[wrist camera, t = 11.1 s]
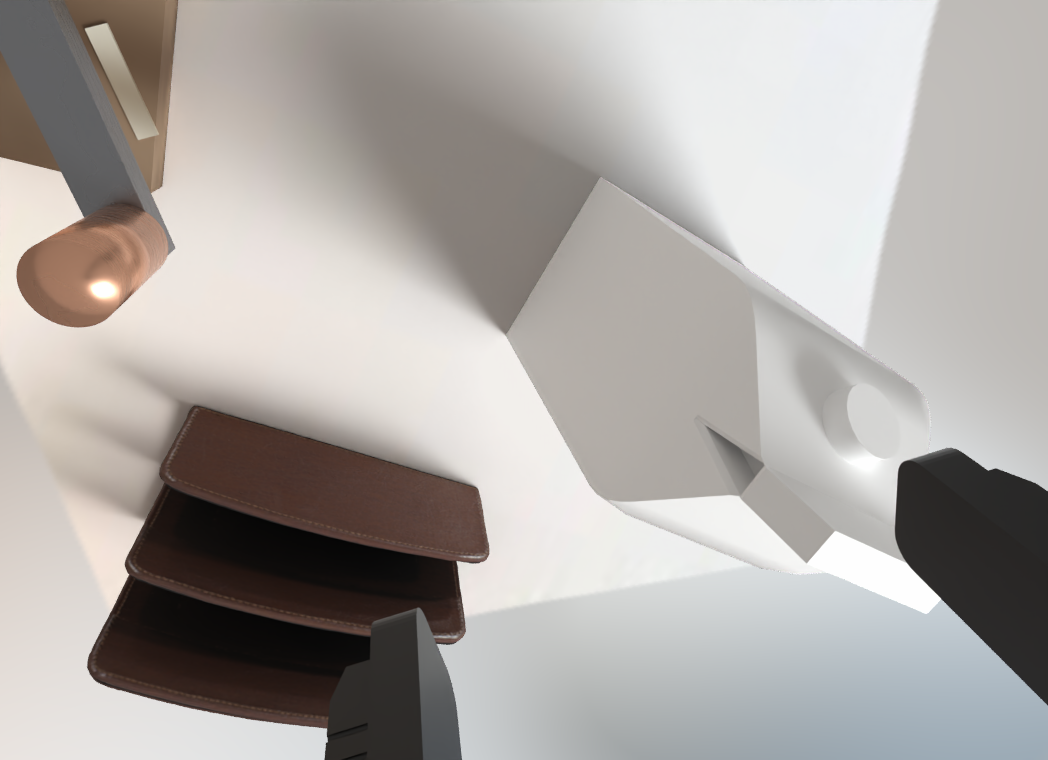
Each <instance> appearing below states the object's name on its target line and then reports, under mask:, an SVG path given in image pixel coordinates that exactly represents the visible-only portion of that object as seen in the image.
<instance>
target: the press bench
mask: <svg viewBox="0 0 1048 760" xmlns="http://www.w3.org/2000/svg"><path fill="white" fill-rule="evenodd" d="M64 1H65V3H66V5H67V7H68V10H69V12H70V14H71V16H72V19H73V21H74V23H75V25H76V27H77V30H78V32H79V34H80V36H81V39H82V41H83V43H84V45H85V47H86V50H87V52H88V54H89V56H90V59H91V61H92V63H93V65H94V68H95V70H96V72H97V74H98V76H99V79H100V81H101V83H102V85H103V88H104V90H105V92H106V94H107V97H108V99H109V101H110V103H111V105H112V108H113V110H114V112H115V114H116V117H117V119H118V121H119V123H120V126H121V128H122V130H123V132H124V134H125V137H126V139H127V141H128V143H129V146H130V148H131V150H132V152H133V155H134V157H135V159H136V161H137V163H138V166H139V168H140V170H141V172H142V175H143V177H144V179H145V181H146V184H147V186H148V188H149V190H150V192H151V193H152V192H154V191H155V190H157V189H159V188H160V187H162V183H163V171H164V159H165V147H166V136H167V124H168V112H169V100H170V89H171V77H172V65H173V53H174V42H175V30H176V18H177V6H178V0H64ZM0 157H3V158H7V159H11V160H15V161H19V162H23V163H27V164H31V165H36V166H40V167H44V168H48V169H52V170H56V171H60V172H61V170H60V168H59V166H58V164H57V162H56V160H55V158H54V156H53V154H52V152H51V150H50V149H49V147H48V145H47V143H46V141H45V139H44V137H43V135H42V133H41V131H40V129H39V127H38V125H37V123H36V121H35V119H34V117H33V115H32V113H31V111H30V109H29V107H28V105H27V103H26V101H25V99H24V97H23V95H22V93H21V91H20V89H19V87H18V85H17V83H16V81H15V79H14V77H13V75H12V73H11V71H10V69H9V67H8V65H7V63H6V61H5V59H4V57H3V55H2V53H1V51H0Z"/></svg>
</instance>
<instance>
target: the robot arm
mask: <svg viewBox="0 0 1048 760" xmlns="http://www.w3.org/2000/svg"><path fill="white" fill-rule="evenodd" d="M895 538H896V542H897V545H898V548H899V550H900V552H901V554H902V556H903V558H904V560H905V561H906V563H907V564H908V565H909V567H910V568H911V569H912V570H913V571H914V572H915V573H916V574H917V575H918V576H919V577H920V578H921V579H922V580H923V581H924V582H925V583H926V584H927V585H928V586H929V587H930V588H931V589H932V590H933V591H934V592H935V593H936V594H937V595H938V596H939V597H940V598H941V599H942V600H943V601H944V602H945V603H946V604H947V605H948V606H949V607H950V608H951V609H952V610H953V611H954V612H955V613H956V614H957V615H958V616H959V617H960V618H961V619H962V620H963V621H964V622H965V623H966V624H967V625H968V626H969V627H970V628H971V629H972V630H973V631H974V632H975V633H976V634H977V635H978V636H979V637H980V638H981V639H982V640H983V641H984V642H985V643H986V644H987V645H988V646H989V647H990V648H991V649H992V650H993V651H994V652H995V653H996V654H997V655H998V656H999V657H1000V658H1001V659H1002V660H1003V661H1004V662H1005V663H1006V664H1007V665H1008V666H1009V667H1010V668H1011V669H1012V670H1013V671H1014V672H1015V673H1016V674H1017V675H1018V676H1019V677H1020V678H1021V679H1022V680H1023V681H1024V682H1025V683H1026V684H1027V685H1028V686H1029V687H1030V688H1031V689H1032V690H1033V691H1034V692H1035V693H1036V694H1037V695H1038V696H1039V697H1040V698H1041V699H1042V700H1043V701H1044V702H1045V703H1046V704H1047V705H1048V491H1046V490H1045V489H1043V488H1042V487H1040V486H1039V485H1037V484H1036V483H1033V482H1031V481H1028V480H1025V479H1022V478H1020V477H1017V476H1015V475H1012V474H1009V473H1007V472H1004V471H1001V470H999V469H993V470H989V471H988V470H986V469H985V468H984V467H982V466H981V465H979V464H978V463H976V462H975V461H973V460H972V459H971V458H969V457H968V456H966V455H965V454H964V453H962V452H960V451H959V450H956V449H953V448H946V449H942V450H939V451H936V452H933V453H929V454H926V455H923V456H919V457H916V458H913V459H910V460H906V461H904V462H902V463H901V465H900V466H899V469H898V479H897V497H896V515H895ZM327 737H328V742H327V743H326V751H325V760H462V756H461V747H460V737H459V727H458V717H457V709H456V702H455V697H454V692H453V688H452V683H451V680H450V676H449V674H448V670H447V668H446V665H445V663H444V661H443V658H442V656H441V654H440V651H439V649H438V647H437V644H436V642H435V639H434V637H433V635H432V632H431V630H430V627H429V625H428V623H427V620H426V618H425V616H424V613H423V612H422V610H421V609H420V608H416V609H413V610H409V611H406V612H403V613H399V614H396V615H393V616H390V617H386V618H383V619H380V620H377V621H374V622H373V623H372V626H371V642H370V660H367V661H364V662H360V663H357V664H354V665H351V666H347V667H346V668H345V670H344V672H343V675H342V677H341V679H340V681H339V683H338V685H337V687H336V689H335V691H334V693H333V695H332V698H331V700H330V706H329V717H328V728H327Z"/></svg>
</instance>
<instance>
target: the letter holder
mask: <svg viewBox="0 0 1048 760" xmlns="http://www.w3.org/2000/svg"><path fill="white" fill-rule="evenodd" d="M160 477H161V479H162V480H163V481H164V482H165V483H164V486H163V488H162V490H161V491H160V493H159V495H158V497H157V499H156V501H155V503H154V505H153V507H152V509H151V511H150V513H149V514H148V517H147V519H146V521H145V523H144V525H143V527H142V529H141V531H140V533H139V535H138V537H137V538H136V540H135V542H134V544H133V546H132V548H131V550H130V552H129V554H128V556H127V558H126V561H125V567H126V570H127V572H128V574H129V576H128V578H127V580H126V583H125V585H124V587H123V589H122V591H121V593H120V595H119V597H118V599H117V601H116V603H115V605H114V607H113V609H112V611H111V613H110V615H109V617H108V619H107V621H106V623H105V624H104V626H103V628H102V630H101V632H100V634H99V636H98V638H97V640H96V642H95V644H94V646H93V648H92V651H91V653H90V654H89V657H88V666H87V668H88V670H89V673H90V675H91V676H92V677H93V679H94V680H95V681H96V682H98V683H100V684H102V685H105V686H107V687H110V688H114V689H117V690H122V691H126V692H129V693H133V694H136V695H140V696H143V697H147V698H151V699H155V700H158V701H163V702H166V703H171V704H176V705H179V706H183V707H188V708H192V709H197V710H202V711H208V712H212V713H219V714H224V715H229V716H234V717H240V718H245V719H251V720H259V721H267V722H274V723H282V724H290V725H300V726H309V727H319V728H328V717H329V706H330V700H331V698H332V695H333V693H334V691H335V689H336V687H337V685H338V683H339V681H340V679H341V677H342V675H343V672H344V670H345V668H346V667H347V666H351V665H354V664H357V663H360V662H364V661H367V660H370V642H371V626H372V623H373V622H374V621H377V620H380V619H383V618H386V617H390V616H393V615H396V614H399V613H403V612H406V611H409V610H413V609H416V608H420V609H421V610H422V612H423V613H424V616H425V618H426V620H427V623H428V625H429V627H430V630H431V632H432V635H433V637H434V639H435V642H436V644H446V645H450V644H454V643H456V642H457V641H459V640H460V639H461V638H462V637H463V636H464V634H465V632H466V629H465V619H464V612H463V604H462V597H461V592H460V585H459V576H458V567H457V562H456V561H461V562H468V563H480V562H483V561H485V560H486V559H487V557H488V555H489V543H488V540H487V534H486V528H485V523H484V516H483V509H482V504H481V498H480V495H479V491H478V489H477V488H475V487H471V486H467V485H464V484H460V483H459V482H453V481H450V480H447V479H443V478H441V477H437V476H434V475H431V474H427V473H423V472H420V471H417V470H413V469H410V468H407V467H403V466H400V465H396V464H393V463H390V462H386V461H383V460H379V459H376V458H374V457H369V456H366V455H363V454H359V453H356V452H353V451H349V450H346V449H342V448H339V447H335V446H332V445H329V444H326V443H323V442H318V441H315V440H312V439H309V438H304V437H301V436H298V435H294V434H293V433H289V432H284V431H281V430H277V429H275V428H271V427H267V426H264V425H260V424H257V423H253V422H250V421H246V420H243V419H239V418H236V417H232V416H229V415H225V414H222V413H219V412H215V411H212V410H208V409H205V408H201V407H197V406H194V407H192V408H191V410H190V411H189V413H188V416H187V419H186V421H185V422H184V424H183V426H182V428H181V430H180V432H179V433H178V435H177V437H176V439H175V441H174V443H173V445H172V447H171V449H170V450H169V452H168V454H167V456H166V458H165V459H164V461H163V463H162V465H161V467H160Z"/></svg>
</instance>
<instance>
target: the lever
mask: <svg viewBox="0 0 1048 760" xmlns="http://www.w3.org/2000/svg"><path fill="white" fill-rule="evenodd" d="M0 51H1V53H2V55H3V57H4V59H5V61H6V63H7V65H8V67H9V69H10V71H11V73H12V75H13V77H14V79H15V81H16V83H17V85H18V87H19V89H20V91H21V93H22V95H23V97H24V99H25V101H26V103H27V105H28V107H29V109H30V111H31V113H32V115H33V117H34V119H35V121H36V123H37V125H38V127H39V129H40V131H41V133H42V135H43V137H44V139H45V141H46V143H47V145H48V147H49V149H50V150H51V152H52V154H53V156H54V158H55V160H56V162H57V164H58V166H59V168H60V170H61V172H62V174H63V176H64V178H65V180H66V182H67V184H68V186H69V188H70V190H71V192H72V194H73V196H74V198H75V200H76V202H77V204H78V206H79V208H80V210H81V212H82V214H83V216H84V218H83V219H81V220H79V221H77V222H76V223H74V224H72V225H70V226H68V227H67V228H65V229H63V230H61V231H59V232H58V233H56V234H54V235H52V236H50V237H49V238H47V239H45V240H43V241H41V242H40V243H38V244H36V245H34V246H33V247H31V248H30V249H28V250H27V251H26V252H25V253H24V254H23V256H22V257H21V259H20V261H19V263H18V266H17V283H18V286H19V289H20V292H21V294H22V296H23V297H24V299H25V300H26V302H27V303H28V304H29V305H30V306H31V307H32V308H33V309H34V310H35V311H36V312H37V313H39V314H40V315H41V316H43V317H45V318H46V319H48V320H50V321H52V322H55V323H57V324H60V325H64V326H69V327H88V326H93V325H96V324H98V323H101V322H102V321H104V320H106V319H107V318H108V317H109V316H110V315H111V314H112V313H114V312H115V311H116V310H117V309H118V308H119V307H120V306H121V305H122V304H123V303H124V302H125V301H126V300H127V299H128V298H129V297H130V296H131V295H132V294H133V293H134V292H135V291H136V290H138V289H139V288H140V287H141V286H142V285H143V284H144V283H145V282H146V281H147V280H148V279H149V278H150V277H151V276H152V275H153V274H154V273H155V272H156V271H157V270H158V269H159V268H160V267H161V266H162V265H163V264H164V262H165V260H166V258H167V255H169V254H170V253H171V252H172V251H173V250H174V249H175V246H174V244H173V241H172V239H171V237H170V235H169V233H168V230H167V228H166V226H165V224H164V221H163V219H162V217H161V215H160V213H159V210H158V208H157V206H156V204H155V201H154V199H153V197H152V195H151V192H150V190H149V188H148V186H147V184H146V181H145V179H144V177H143V175H142V172H141V170H140V168H139V166H138V163H137V161H136V159H135V157H134V155H133V152H132V150H131V148H130V146H129V143H128V141H127V139H126V137H125V134H124V132H123V130H122V128H121V126H120V123H119V121H118V119H117V117H116V114H115V112H114V110H113V108H112V105H111V103H110V101H109V99H108V97H107V94H106V92H105V90H104V88H103V85H102V83H101V81H100V79H99V76H98V74H97V72H96V70H95V68H94V65H93V63H92V61H91V59H90V56H89V54H88V52H87V50H86V47H85V45H84V43H83V41H82V39H81V36H80V34H79V32H78V30H77V27H76V25H75V23H74V21H73V19H72V16H71V14H70V12H69V10H68V7H67V5H66V3H65V1H64V0H0Z"/></svg>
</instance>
